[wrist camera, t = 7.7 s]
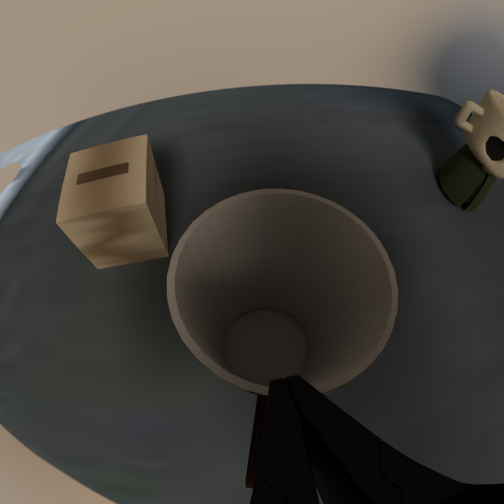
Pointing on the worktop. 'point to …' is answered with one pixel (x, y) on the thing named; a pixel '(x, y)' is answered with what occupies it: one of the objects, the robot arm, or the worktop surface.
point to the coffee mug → (281, 294)
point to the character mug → (476, 152)
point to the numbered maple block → (114, 203)
